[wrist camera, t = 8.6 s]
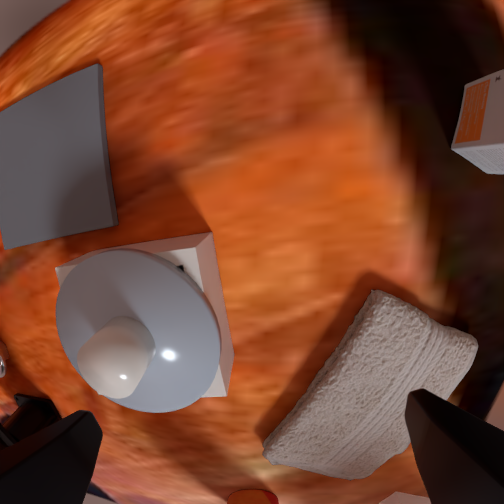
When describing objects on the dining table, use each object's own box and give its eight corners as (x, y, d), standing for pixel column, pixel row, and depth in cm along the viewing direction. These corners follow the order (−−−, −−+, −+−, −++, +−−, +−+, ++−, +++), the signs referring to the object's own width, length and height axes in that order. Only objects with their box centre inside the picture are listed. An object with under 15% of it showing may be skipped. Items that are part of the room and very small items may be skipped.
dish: (124, 359, 23) (98, 394, 18) (94, 250, 21) (55, 267, 16) (234, 354, 22) (226, 396, 17) (212, 231, 20) (195, 247, 15)
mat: (10, 248, 21) (4, 250, 20) (-3, 118, 19) (-8, 117, 18) (118, 224, 20) (113, 226, 19) (102, 66, 18) (97, 63, 17)
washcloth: (256, 444, 25) (254, 468, 22) (368, 277, 21) (383, 292, 18) (358, 468, 25) (363, 489, 22) (469, 331, 22) (487, 347, 19)
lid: (96, 400, 18) (70, 435, 14) (46, 261, 16) (3, 280, 12) (236, 400, 17) (230, 447, 13) (201, 234, 15) (179, 251, 11)
